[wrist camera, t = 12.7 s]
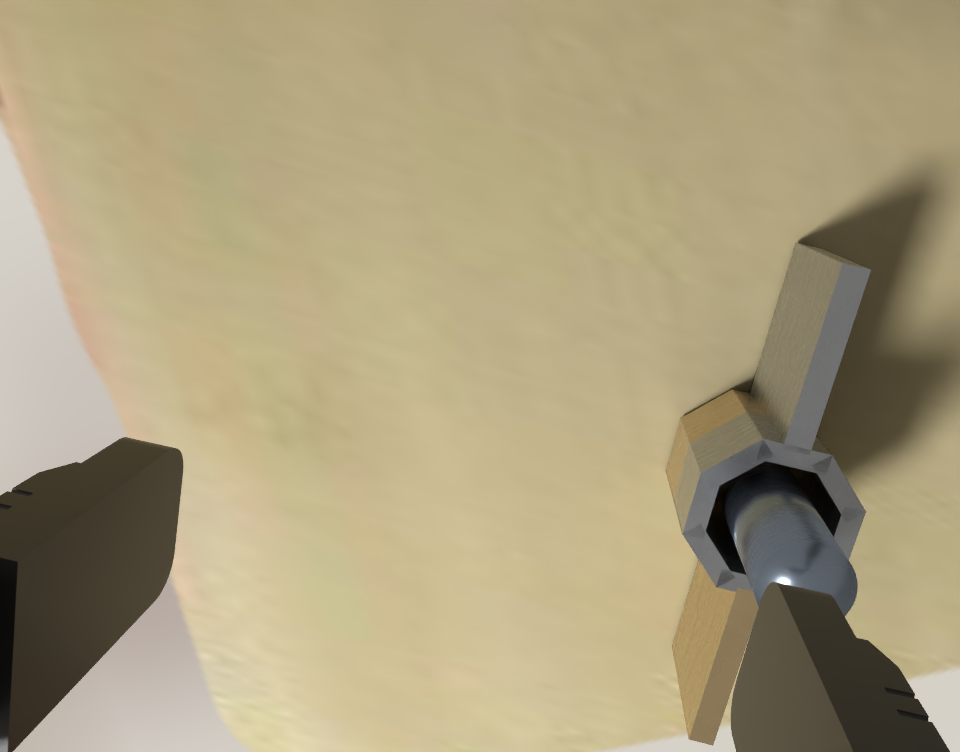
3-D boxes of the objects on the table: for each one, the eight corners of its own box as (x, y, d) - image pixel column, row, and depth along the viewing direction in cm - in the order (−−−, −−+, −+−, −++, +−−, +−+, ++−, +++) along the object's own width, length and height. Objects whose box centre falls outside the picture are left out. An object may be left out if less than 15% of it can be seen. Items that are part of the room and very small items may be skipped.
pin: (755, 415, 40) (824, 524, 28) (793, 472, 40) (876, 602, 29) (692, 452, 40) (735, 573, 29) (730, 508, 41) (787, 649, 29)
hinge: (734, 229, 38) (768, 246, 31) (881, 261, 37) (946, 286, 31) (618, 632, 43) (625, 723, 36) (746, 664, 43) (776, 761, 36)
